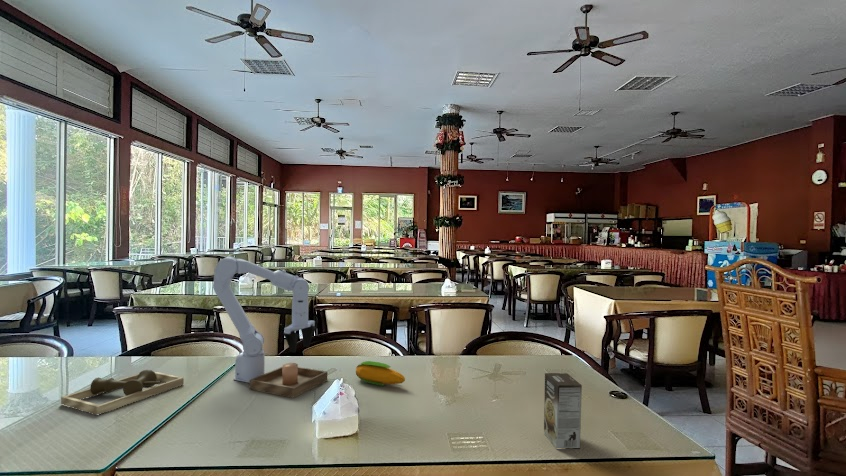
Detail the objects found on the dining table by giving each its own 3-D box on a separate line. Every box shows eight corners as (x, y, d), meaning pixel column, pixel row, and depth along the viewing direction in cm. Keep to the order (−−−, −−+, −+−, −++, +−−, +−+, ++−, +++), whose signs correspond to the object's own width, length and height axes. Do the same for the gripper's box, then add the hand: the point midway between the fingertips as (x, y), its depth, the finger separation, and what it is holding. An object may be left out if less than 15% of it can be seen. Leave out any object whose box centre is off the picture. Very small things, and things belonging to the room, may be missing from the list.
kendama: (104, 389, 143) (168, 386, 145) (84, 401, 134) (154, 398, 136) (103, 371, 143) (168, 368, 145) (83, 382, 133) (153, 378, 135)
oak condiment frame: (61, 405, 130) (61, 396, 130) (149, 377, 155) (149, 370, 155) (97, 415, 124) (97, 406, 124) (183, 384, 148) (183, 377, 148)
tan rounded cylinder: (279, 383, 149) (279, 366, 149) (289, 379, 154) (289, 362, 153) (290, 386, 147) (290, 368, 147) (300, 381, 152) (300, 364, 151)
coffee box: (542, 433, 117) (543, 372, 117) (566, 432, 118) (567, 372, 118) (555, 450, 108) (557, 384, 108) (581, 449, 109) (582, 384, 108)
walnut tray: (249, 389, 146) (249, 379, 146) (286, 373, 162) (286, 364, 162) (293, 397, 139) (293, 388, 139) (327, 380, 155) (327, 371, 155)
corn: (363, 355, 160) (411, 363, 151) (363, 375, 161) (411, 385, 151) (350, 361, 154) (399, 371, 144) (351, 382, 154) (400, 393, 145)
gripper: (296, 316, 151) (295, 356, 151) (321, 309, 165) (321, 346, 165) (279, 314, 154) (279, 353, 154) (306, 308, 167) (305, 343, 168)
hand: (299, 349), depth 160 cm, fingers open, 7 cm apart
